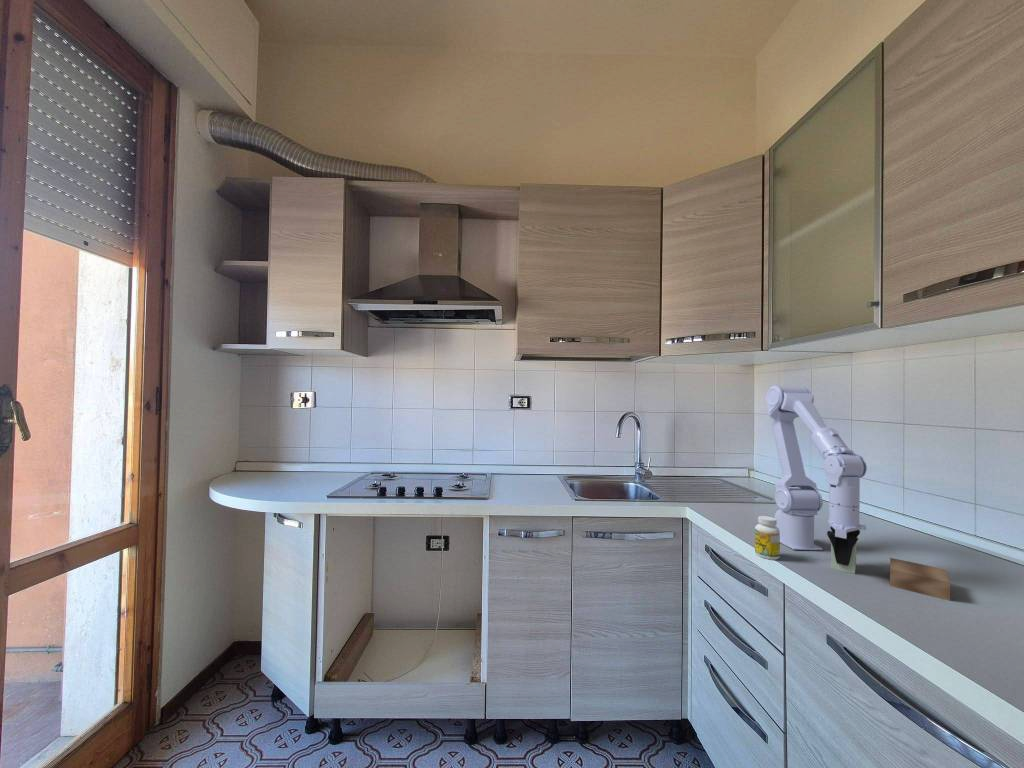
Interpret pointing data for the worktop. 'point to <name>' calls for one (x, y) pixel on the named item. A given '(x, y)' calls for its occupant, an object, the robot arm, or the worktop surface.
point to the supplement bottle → (767, 538)
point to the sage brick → (850, 568)
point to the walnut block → (920, 578)
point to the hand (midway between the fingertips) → (843, 561)
